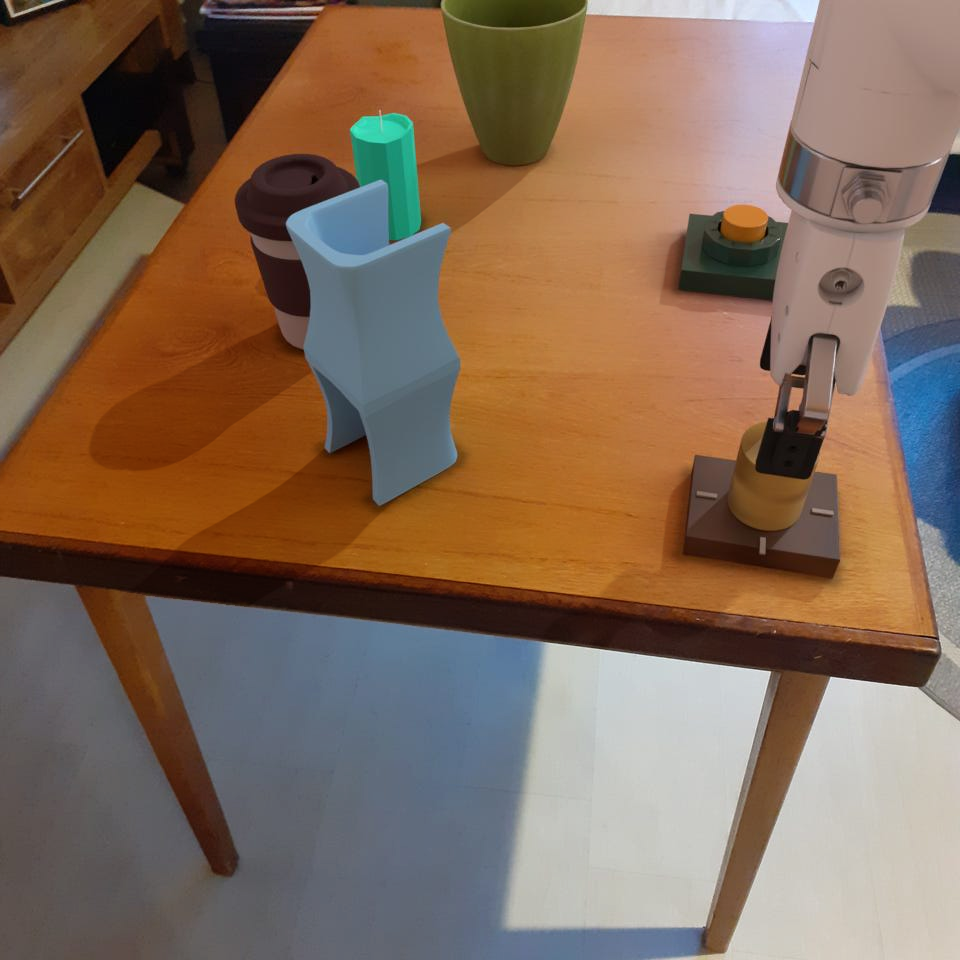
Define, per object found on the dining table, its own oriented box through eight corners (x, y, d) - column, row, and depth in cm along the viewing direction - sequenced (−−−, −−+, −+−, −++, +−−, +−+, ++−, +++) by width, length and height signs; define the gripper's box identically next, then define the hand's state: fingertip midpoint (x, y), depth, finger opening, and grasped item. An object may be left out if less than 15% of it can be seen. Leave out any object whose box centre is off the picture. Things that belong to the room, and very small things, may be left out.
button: (765, 223, 86) (768, 206, 85) (764, 246, 83) (767, 229, 82) (721, 219, 87) (724, 202, 85) (719, 241, 84) (722, 224, 83)
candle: (430, 214, 96) (421, 100, 87) (408, 244, 92) (397, 128, 83) (377, 206, 97) (363, 93, 88) (353, 235, 93) (336, 120, 84)
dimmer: (830, 487, 67) (837, 466, 66) (833, 585, 61) (841, 565, 60) (691, 467, 69) (695, 447, 68) (681, 561, 63) (685, 541, 62)
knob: (723, 477, 66) (737, 416, 61) (794, 478, 65) (813, 418, 61) (732, 530, 62) (747, 470, 58) (807, 532, 62) (828, 472, 58)
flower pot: (423, 146, 106) (412, -2, 95) (524, 109, 112) (525, -35, 100) (502, 197, 98) (501, 41, 86) (607, 154, 103) (618, 2, 92)
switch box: (790, 243, 90) (799, 206, 87) (789, 302, 83) (799, 264, 80) (686, 233, 92) (692, 196, 89) (677, 290, 85) (683, 252, 82)
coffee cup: (244, 339, 82) (202, 183, 71) (317, 284, 87) (289, 132, 76) (328, 377, 78) (298, 218, 67) (400, 318, 83) (383, 162, 72)
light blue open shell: (465, 458, 71) (452, 227, 56) (379, 506, 67) (342, 274, 53) (407, 405, 75) (382, 178, 61) (324, 448, 72) (276, 218, 57)
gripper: (959, 273, 39) (848, 530, 52) (923, 98, 51) (839, 343, 63) (779, 253, 41) (713, 509, 53) (783, 86, 52) (728, 329, 65)
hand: (782, 418), depth 58 cm, fingers open, 9 cm apart
